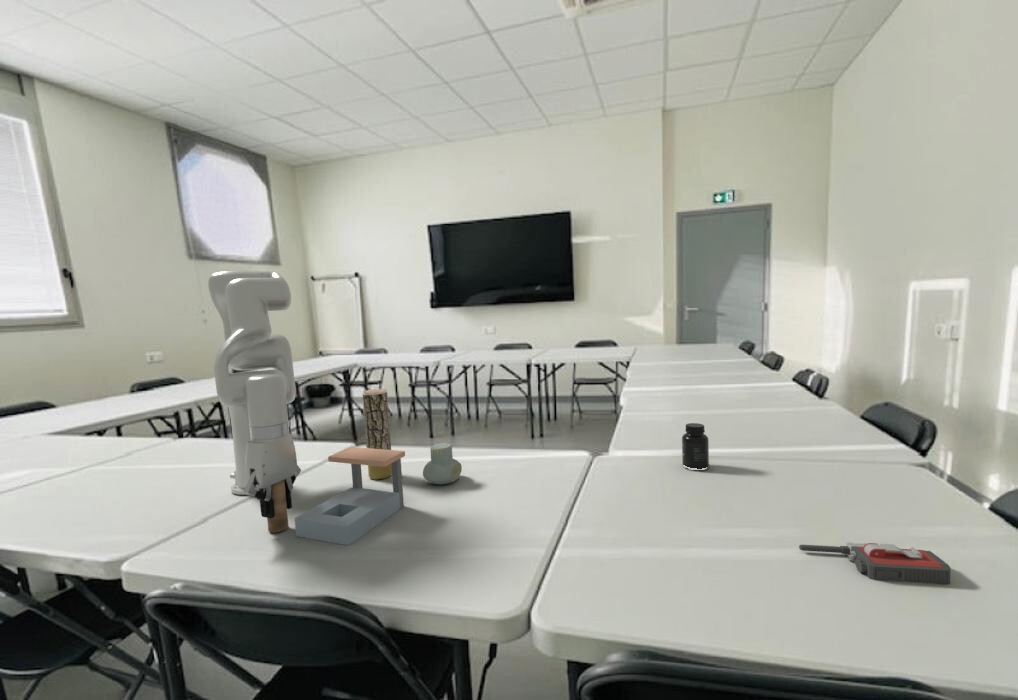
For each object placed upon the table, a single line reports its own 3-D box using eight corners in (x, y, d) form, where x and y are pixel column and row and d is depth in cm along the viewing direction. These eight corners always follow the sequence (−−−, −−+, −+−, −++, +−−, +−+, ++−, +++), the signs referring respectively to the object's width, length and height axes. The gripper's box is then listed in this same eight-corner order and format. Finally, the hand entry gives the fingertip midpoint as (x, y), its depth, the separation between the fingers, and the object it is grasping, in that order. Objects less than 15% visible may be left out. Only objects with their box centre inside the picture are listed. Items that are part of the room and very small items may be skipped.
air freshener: (447, 489, 121) (445, 452, 121) (420, 487, 124) (417, 450, 123) (465, 475, 132) (463, 441, 131) (439, 473, 134) (437, 439, 134)
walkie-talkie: (925, 558, 80) (796, 551, 84) (925, 534, 80) (796, 528, 84) (962, 588, 72) (817, 578, 76) (963, 561, 71) (817, 553, 76)
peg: (264, 530, 101) (259, 477, 100) (279, 522, 105) (274, 471, 104) (277, 533, 100) (272, 479, 99) (292, 525, 104) (288, 473, 102)
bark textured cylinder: (386, 480, 130) (380, 393, 128) (364, 480, 132) (357, 393, 130) (396, 472, 137) (391, 388, 135) (375, 471, 138) (369, 389, 136)
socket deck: (292, 535, 99) (287, 473, 98) (355, 499, 118) (351, 446, 117) (352, 546, 94) (347, 480, 92) (408, 505, 112) (404, 451, 111)
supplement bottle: (680, 463, 133) (679, 422, 132) (705, 463, 132) (704, 421, 131) (685, 471, 126) (684, 428, 125) (712, 471, 125) (711, 428, 124)
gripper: (287, 420, 110) (294, 495, 111) (221, 440, 94) (230, 527, 96) (312, 422, 107) (318, 499, 109) (248, 443, 91) (256, 532, 93)
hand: (277, 511), depth 102 cm, fingers closed on peg, 4 cm apart
